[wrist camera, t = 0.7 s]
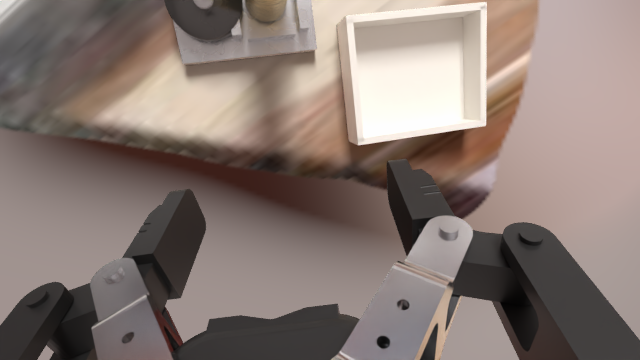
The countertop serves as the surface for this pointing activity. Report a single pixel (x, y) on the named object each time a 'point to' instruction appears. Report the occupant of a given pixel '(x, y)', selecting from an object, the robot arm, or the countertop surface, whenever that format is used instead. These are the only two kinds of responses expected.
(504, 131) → the countertop surface
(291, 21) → the tensioner plate
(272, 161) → the countertop surface
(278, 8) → the gold mushroom peg
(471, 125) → the tray
